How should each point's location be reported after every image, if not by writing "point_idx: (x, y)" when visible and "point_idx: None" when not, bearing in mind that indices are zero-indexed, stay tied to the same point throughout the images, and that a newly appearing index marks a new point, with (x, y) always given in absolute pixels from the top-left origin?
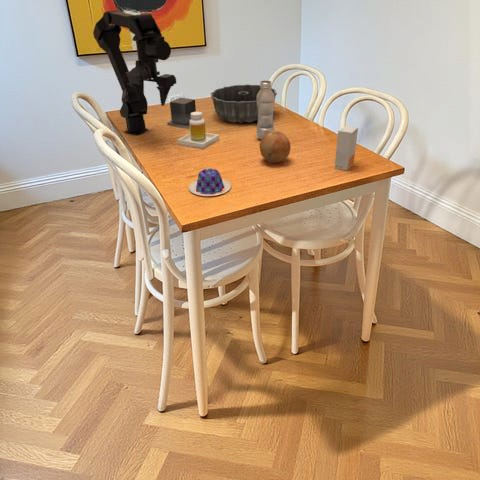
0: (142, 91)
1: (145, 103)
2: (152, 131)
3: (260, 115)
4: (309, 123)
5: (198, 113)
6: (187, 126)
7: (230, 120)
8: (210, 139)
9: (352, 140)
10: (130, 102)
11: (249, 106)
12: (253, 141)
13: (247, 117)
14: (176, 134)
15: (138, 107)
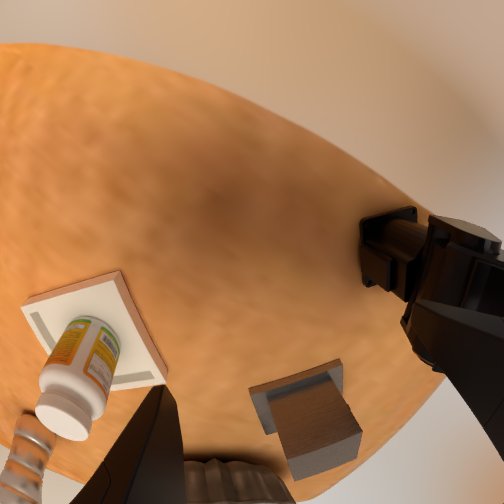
0: (469, 385)
1: (421, 346)
2: (341, 289)
3: (15, 460)
4: None
5: (53, 425)
6: (252, 393)
7: (184, 462)
8: (48, 353)
9: None
10: (479, 260)
11: None
12: (35, 405)
13: None
14: (232, 335)
15: (431, 291)
